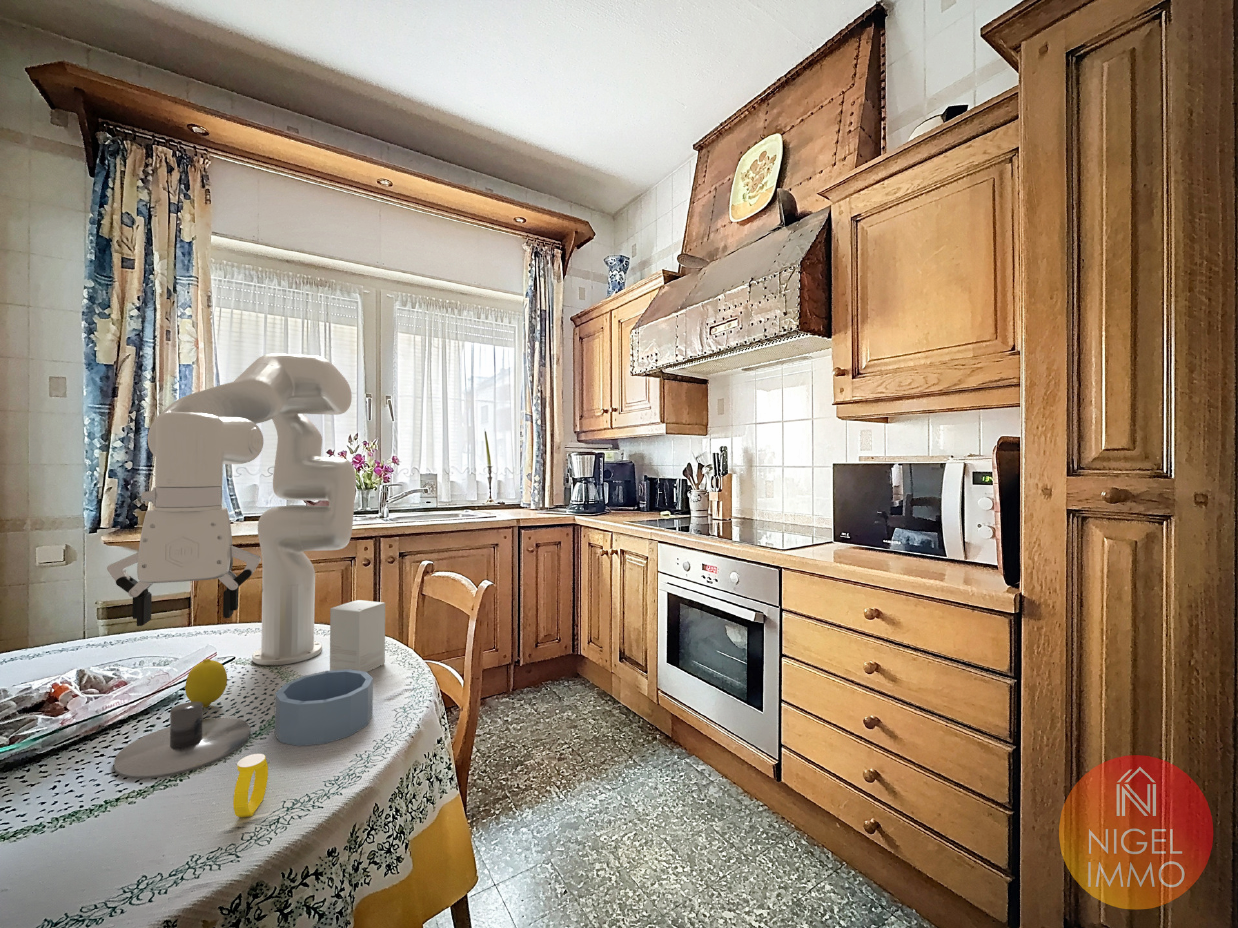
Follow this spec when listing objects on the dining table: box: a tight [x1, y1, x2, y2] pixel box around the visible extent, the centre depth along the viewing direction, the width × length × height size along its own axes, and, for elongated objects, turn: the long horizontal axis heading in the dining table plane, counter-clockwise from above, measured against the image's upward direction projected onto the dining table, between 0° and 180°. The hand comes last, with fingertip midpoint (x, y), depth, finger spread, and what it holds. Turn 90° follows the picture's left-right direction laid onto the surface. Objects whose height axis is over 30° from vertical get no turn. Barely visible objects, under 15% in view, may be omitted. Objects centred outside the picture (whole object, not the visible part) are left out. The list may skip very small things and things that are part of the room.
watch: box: [233, 753, 269, 818], centre depth 64 cm, size 6×3×6 cm, turn 13°
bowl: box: [274, 669, 374, 747], centre depth 84 cm, size 13×13×6 cm
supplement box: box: [329, 599, 386, 673], centre depth 108 cm, size 7×7×13 cm
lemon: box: [184, 658, 228, 708], centre depth 90 cm, size 6×6×8 cm
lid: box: [113, 701, 251, 780], centre depth 77 cm, size 15×15×6 cm
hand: (187, 619), depth 77 cm, fingers open, 9 cm apart
